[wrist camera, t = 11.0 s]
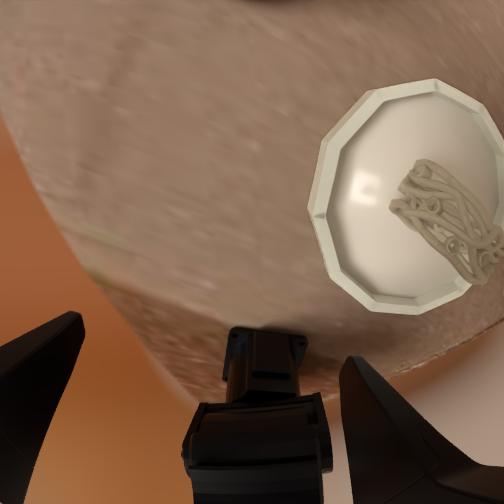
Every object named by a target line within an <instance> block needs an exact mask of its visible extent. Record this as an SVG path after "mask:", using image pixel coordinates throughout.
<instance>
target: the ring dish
mask: <svg viewBox="0 0 504 504" xmlns="http://www.w3.org/2000/svg"><path fill="white" fill-rule="evenodd" d="M418 159H419V160H421V159H427V160H430V161H433V162H435V163H437V164H438V165H440V166H442V167H443V168H444V169H445V170H446V171H448V172H449V173H450V174H451V175H452V176H453V177H454V178H456V179H457V180H458V181H459V182H460V183H461V184H462V185H464V186H465V187H466V188H467V189H468V190H469V191H470V192H472V193H473V194H474V195H475V196H476V197H477V198H478V199H479V200H480V201H481V202H482V204H483V205H484V207H485V208H486V210H487V213H488V215H489V217H490V220H491V222H492V223H493V224H496V225H498V226H501V228H502V229H503V231H504V140H503V138H502V136H501V134H500V132H499V130H498V128H497V127H496V125H495V123H494V121H493V120H492V118H491V116H490V115H489V113H488V111H487V110H486V108H485V106H484V105H483V104H481V103H480V102H478V101H476V100H475V99H473V98H471V97H469V96H468V95H466V94H464V93H462V92H461V91H459V90H457V89H455V88H453V87H451V86H449V85H447V84H446V83H444V82H442V81H440V80H438V79H427V80H421V81H415V82H409V83H404V84H398V85H393V86H388V87H384V88H379V89H374V90H370V91H366V92H365V93H364V94H363V95H362V97H361V98H360V99H359V100H358V101H357V102H356V103H355V104H354V105H353V106H352V107H351V108H350V110H349V111H348V112H347V113H346V114H345V115H344V116H343V117H342V118H341V119H340V121H339V122H338V123H337V124H336V125H335V126H334V127H333V128H332V129H331V130H330V132H329V133H328V134H327V135H326V136H325V137H324V138H323V139H322V141H321V146H320V151H319V156H318V161H317V166H316V170H315V175H314V180H313V184H312V189H311V193H310V198H309V202H308V207H307V209H308V212H309V215H310V218H311V221H312V224H313V227H314V230H315V234H316V237H317V240H318V243H319V247H320V250H321V253H322V257H323V260H324V263H325V267H326V269H327V272H328V274H329V276H330V278H331V279H332V280H333V281H334V282H336V283H337V284H338V285H339V286H341V287H342V288H343V289H344V290H345V291H347V292H348V293H349V294H350V295H352V296H353V297H354V298H355V299H356V300H358V301H359V302H360V303H361V304H362V305H364V306H365V307H366V308H367V309H368V310H370V311H374V312H385V313H396V314H409V315H419V314H422V313H424V312H426V311H429V310H431V309H433V308H436V307H438V306H440V305H442V304H444V303H447V302H449V301H451V300H453V299H455V298H457V297H460V296H462V295H463V294H464V293H465V292H466V291H467V289H468V288H469V287H470V286H471V285H472V284H470V283H468V282H467V281H465V280H464V279H463V278H462V277H461V276H460V275H459V273H458V272H457V271H456V269H455V268H454V267H453V265H452V264H451V263H450V262H449V261H448V260H447V259H446V258H445V257H444V256H442V255H441V254H440V253H439V252H437V251H436V250H435V249H434V248H433V247H431V246H430V245H429V244H428V243H427V241H426V240H425V239H424V238H423V237H422V236H421V235H420V234H419V233H417V232H414V231H413V230H411V229H409V228H408V227H407V226H406V225H405V224H404V223H403V222H402V221H401V220H400V218H399V217H398V216H396V215H395V214H393V213H391V211H390V210H389V207H388V206H389V205H390V203H391V200H392V199H403V200H404V201H406V202H407V203H408V204H409V205H410V197H409V195H408V192H407V194H406V195H404V194H403V193H401V192H400V191H399V190H398V189H397V188H398V186H399V185H400V183H401V181H402V180H403V178H405V177H406V175H407V174H409V171H410V170H412V169H413V166H414V164H415V162H416V160H418ZM431 171H432V170H431ZM432 173H433V174H432V177H431V179H433V180H437V181H441V182H444V183H446V184H448V183H447V182H446V181H445V180H444V179H442V178H441V177H440V176H438V175H437V174H436V173H434V172H433V171H432ZM436 191H437V190H436ZM426 201H427V200H426ZM441 201H447V202H449V203H451V204H452V205H454V206H455V207H456V208H457V209H458V206H457V203H456V202H454V201H450V200H441ZM443 210H444V211H446V212H448V213H450V214H452V215H454V214H453V213H452V212H451V211H450V210H449V209H447V208H444V209H443ZM468 215H469V219H470V221H472V222H475V220H474V219H473V217H472V216H471V215H470V213H469V212H468ZM440 216H442V215H440ZM454 216H455V215H454ZM442 217H444V216H442ZM455 217H456V216H455ZM444 218H446V217H444ZM446 219H447V218H446ZM447 220H449V219H447ZM423 221H424V222H425V223H426V224H428V225H429V226H431V227H433V223H432V222H429V221H426V220H423ZM449 221H451V220H449ZM451 222H452V223H454V224H455V225H457V226H458V227H459V228H461V229H462V230H463V231H465V230H464V227H463V226H461V225H459V224H457V223H455V222H453V221H451ZM437 227H438V228H439V227H440V226H439V225H437ZM474 231H475V232H477V233H478V234H479V235H480V236H481V233H480V230H477V229H474ZM442 233H444V234H445V235H446V236H447V237H449V236H454V235H453V234H452V233H451V232H449V231H447V230H446V229H444V230H443V231H442ZM493 242H494V243H496V242H495V241H493ZM462 255H463V256H464V258H465V259H466V260H467V261H468V262H469V257H468V255H467V254H463V253H462Z"/></svg>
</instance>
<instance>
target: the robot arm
mask: <svg viewBox="0 0 504 504" xmlns="http://www.w3.org/2000/svg"><path fill="white" fill-rule="evenodd" d="M233 334H237V335H233ZM84 338H85V328H84V324H83V319H82V315H81V314H80V313H78V312H75V311H68V312H66V313H64V314H62V315H60V316H58V317H57V318H54V319H53V320H51V321H49V322H47V323H45V324H43V325H41V326H39V327H37V328H35V329H33V330H31V331H29V332H27V333H25V334H23V335H22V336H20V337H18V338H16V339H14V340H12V341H10V342H8V343H6V344H4V345H2V346H1V347H0V502H1V503H2V504H23V503H24V500H25V496H26V493H27V489H28V486H29V482H30V479H31V476H32V473H33V470H34V468H33V467H34V466H35V463H36V460H37V457H38V455H39V452H40V449H41V446H42V444H43V441H44V438H45V436H46V433H47V430H48V428H49V425H50V423H51V420H52V418H53V415H54V413H55V411H56V408H57V406H58V403H59V401H60V399H61V397H62V394H63V392H64V390H65V387H66V385H67V383H68V381H69V379H70V376H71V374H72V372H73V369H74V366H75V363H76V360H77V357H78V355H79V352H80V349H81V346H82V344H83V341H84ZM302 341H303V342H302ZM300 342H302V343H300ZM307 345H308V340H307V338H306V337H305V336H297V335H288V334H279V333H270V332H262V331H254V330H247V329H239V328H232V329H231V330H230V331H229V336H228V343H227V349H226V356H225V362H224V369H223V376H222V380H223V381H225V382H227V392H226V402H225V403H212V404H208V403H207V402H206V403H200V404H199V406H198V409H197V411H196V412H195V415H194V417H193V420H192V422H191V424H190V427H189V429H188V431H187V434H186V436H185V439H184V441H183V444H182V449H183V450H182V451H181V457H182V458H183V460H184V466H185V470H186V472H187V475H188V476H189V477H190V478H191V481H192V488H193V498H194V504H324V496H323V480H322V473H323V474H324V473H330V472H332V471H333V454H332V445H331V437H330V431H329V426H328V422H327V418H326V414H325V410H324V406H323V402H322V398H321V394H320V392H317V393H313V394H312V395H306V396H301V395H300V387H299V379H298V369H299V366H300V363H301V361H302V358H303V356H304V353H305V350H306V348H307ZM227 377H228V378H227ZM339 384H340V402H341V417H342V424H343V429H344V437H345V443H346V450H347V457H348V463H349V471H350V479H351V487H352V495H353V504H504V467H499V466H487V465H482V464H479V463H477V462H475V461H473V460H472V459H471V458H469V457H468V456H467V455H466V454H464V453H463V452H462V451H461V450H459V449H458V448H457V447H456V446H454V445H453V444H452V443H451V442H450V441H448V440H447V439H446V438H445V437H444V436H442V435H441V434H440V433H439V432H438V431H437V430H436V429H435V428H434V427H433V426H432V425H431V424H430V423H429V422H428V421H426V420H425V419H424V418H423V417H422V416H421V415H420V414H419V413H418V412H417V411H416V410H415V409H414V408H413V407H412V406H411V405H410V404H409V403H408V402H407V401H406V400H405V399H404V398H403V397H402V396H401V395H400V394H399V393H398V392H397V391H396V390H395V389H394V388H393V387H392V386H391V385H390V384H389V383H388V382H387V381H386V380H385V379H384V378H383V377H382V376H381V375H380V374H379V373H378V372H377V371H376V370H375V369H374V368H373V367H372V366H371V365H370V364H369V363H368V362H367V361H366V360H364V359H363V358H362V357H361V356H359V355H349V356H348V357H347V359H346V361H345V363H344V365H343V367H342V369H341V371H340V374H339Z"/></svg>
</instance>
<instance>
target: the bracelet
mask: <svg viewBox="0 0 504 504" xmlns="http://www.w3.org/2000/svg"><path fill="white" fill-rule="evenodd" d="M431 170H432V171H433V172H434V173H436V174H437V175H438V176H440V177H441V178H442V179H444V180H445V181H446V182H447V183H448V184H446V183H444V182H441V181H437V180H433V179H431V177H432V174H433V173H432V171H431ZM397 189H398V190H399V191H400V192H401V193H403V194H404V195H406V194H407V192H408V195H409V197H410V205H409V204H408V203H407V202H406V201H404V200H403V199H392V200H391V203H390V205H389V206H388V207H389V210H390V211H391V213H393V214H395V215H396V216H398V217H399V218H400V220H401V221H402V222H403V223H404V224H405V225H406V226H407V227H408V228H409V229H411V230H413V231H414V232H417V233H419V234H420V235H421V236H422V237H423V238H424V239H425V240H426V241H427V243H428V244H429V245H430V246H431V247H433V248H434V249H435V250H436V251H437V252H439V253H440V254H441V255H442V256H444V257H445V258H446V259H447V260H448V261H449V262H450V263H451V264H452V265H453V267H454V268H455V269H456V271H457V272H458V273H459V275H460V276H461V277H462V278H463V279H464V280H465V281H467V282H468V283H470V284H472V285H485V284H487V283H488V280H489V278H490V277H491V276H492V274H493V273H494V271H495V269H496V267H495V266H494V265H493V264H496V263H497V262H499V261H500V257H503V256H504V250H503V248H504V231H503V229H502V228H501V226H498V225H496V224H493V223H492V222H491V220H490V217H489V215H488V213H487V210H486V208H485V207H484V205H483V204H482V202H481V201H480V200H479V199H478V198H477V197H476V196H475V195H474V194H473V193H472V192H470V191H469V190H468V189H467V188H466V187H465V186H464V185H462V184H461V183H460V182H459V181H458V180H457V179H456V178H454V177H453V176H452V175H451V174H450V173H449V172H448V171H446V170H445V169H444V168H443V167H442V166H440V165H438V164H437V163H435V162H433V161H430V160H427V159H421V160H419V159H418V160H416V162H415V164H414V166H413V169H412V170H410V171H409V174H407V175H406V177H405V178H403V180H402V181H401V183H400V185H399V186H398V188H397ZM436 190H437V191H436ZM426 200H427V201H426ZM441 200H450V201H454V202H456V203H457V206H458V209H457V208H456V207H455V206H454V205H452V204H451V203H449V202H447V201H441ZM444 208H447V209H449V210H450V211H451V212H452V213H453V214H454V215H455V216H456V217H455V216H454V215H452V214H450V213H448V212H446V211H444V210H443V209H444ZM468 212H469V213H470V215H471V216H472V217H473V219H474V220H475V222H472V221H470V219H469V215H468ZM440 215H442V216H444V217H446V218H447V219H449V220H451V221H453V222H455V223H457V224H459V225H461V226H463V227H464V230H465V231H463V230H462V229H461V228H459V227H458V226H457V225H455V224H454V223H452V222H451V221H449V220H447V219H446V218H444V217H442V216H440ZM423 220H426V221H429V222H432V223H433V227H431V226H429V225H428V224H426V223H425V222H424V221H423ZM437 225H439V226H440V227H439V228H438V227H437ZM444 229H446V230H447V231H449V232H451V233H452V234H453V235H454V236H449V237H447V236H446V235H445V234H444V233H442V231H443V230H444ZM474 229H477V230H480V233H481V236H480V235H479V234H478V233H477V232H475V231H474ZM493 241H495V242H496V243H494V242H493ZM462 253H463V254H467V255H468V257H469V262H468V261H467V260H466V259H465V258H464V256H463V255H462ZM492 263H493V264H492Z"/></svg>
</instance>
